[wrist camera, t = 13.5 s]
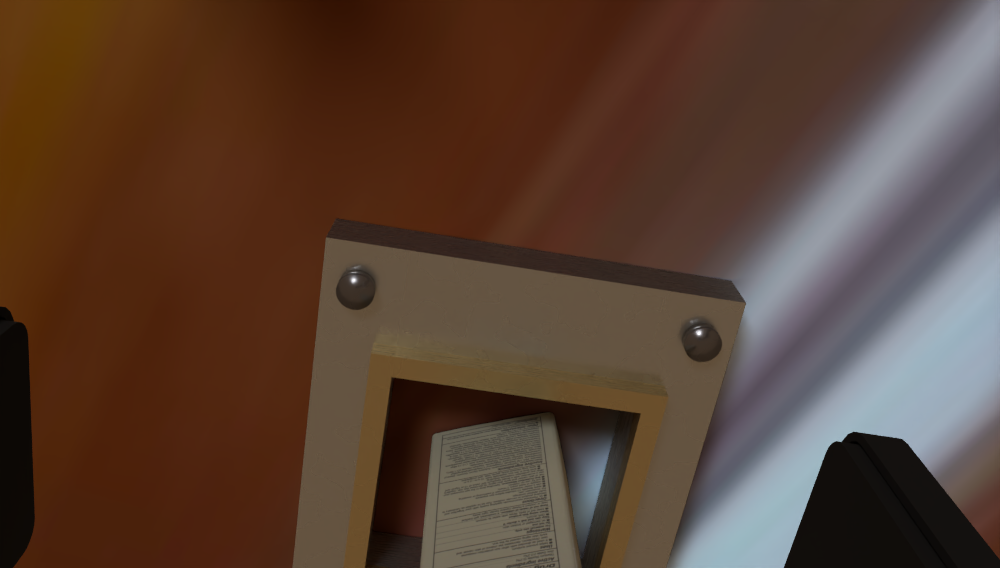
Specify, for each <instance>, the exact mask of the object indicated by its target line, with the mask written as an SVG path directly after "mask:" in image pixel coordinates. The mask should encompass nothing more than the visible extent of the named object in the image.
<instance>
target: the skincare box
mask: <svg viewBox="0 0 1000 568" xmlns="http://www.w3.org/2000/svg"><path fill="white" fill-rule="evenodd" d="M420 568H582V567H581V561H580V555H579V549H578V543H577V537H576V530H575V524H574V518H573V511H572V505H571V498H570V492H569V486H568V480H567V475H566V469H565V464H564V459H563V454H562V449H561V444H560V439H559V434H558V429H557V425H556V421H555V416H554V415H553V413H551V412H546V413H541V414H535V415H528V416H523V417H517V418H512V419H506V420H501V421H496V422H491V423H485V424H479V425H474V426H469V427H463V428H459V429H454V430H450V431H445V432H441V433H436V434H434V435H433V437H432V444H431V455H430V466H429V478H428V488H427V498H426V508H425V519H424V530H423V541H422V552H421V562H420Z"/></svg>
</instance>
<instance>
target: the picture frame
mask: <svg viewBox="0 0 1000 568" xmlns="http://www.w3.org/2000/svg"><path fill="white" fill-rule="evenodd" d="M745 305H746V302H745V301H744V299H743V298H742V296H741V295H740V293H739V292H738V290H737V289H736V287H735V286H734V284H733V283H732V281H728V280H722V279H716V278H709V277H703V276H697V275H690V274H684V273H678V272H671V271H665V270H659V269H652V268H646V267H640V266H633V265H627V264H621V263H614V262H608V261H602V260H595V259H589V258H583V257H576V256H570V255H564V254H557V253H551V252H545V251H538V250H532V249H526V248H519V247H513V246H507V245H500V244H494V243H488V242H481V241H475V240H469V239H462V238H456V237H450V236H443V235H437V234H431V233H424V232H418V231H412V230H405V229H399V228H393V227H387V226H380V225H374V224H368V223H361V222H355V221H349V220H342V219H336V220H335V221H334V223H333V225H332V227H331V229H330V231H329V233H328V235H327V237H326V244H325V254H324V264H323V273H322V283H321V293H320V303H319V313H318V323H317V333H316V342H315V352H314V362H313V372H312V382H311V392H310V402H309V412H308V421H307V431H306V441H305V451H304V461H303V471H302V481H301V490H300V500H299V510H298V520H297V530H296V540H295V550H294V559H293V568H420V562H421V552H422V541H423V538H418V537H411V536H403V535H396V534H388V533H381V532H373V524H374V517H375V510H376V503H377V496H378V489H379V482H380V475H381V468H382V460H383V453H384V446H385V439H386V432H387V425H388V418H389V411H390V404H391V397H392V390H393V383H394V378H401V379H408V380H414V381H421V382H428V383H435V384H442V385H449V386H456V387H463V388H469V389H476V390H483V391H490V392H497V393H504V394H511V395H517V396H524V397H531V398H538V399H545V400H552V401H559V402H565V403H572V404H579V405H586V406H593V407H600V408H607V409H614V410H620V414H619V418H618V422H617V426H616V430H615V433H614V437H613V441H612V445H611V449H610V453H609V457H608V461H607V465H606V469H605V472H604V476H603V480H602V484H601V488H600V492H599V496H598V500H597V504H596V508H595V511H594V515H593V519H592V523H591V527H590V531H589V535H588V539H587V543H586V547H585V551H584V554H583V558H582V559H580V561H581V567H582V568H666V566H667V563H668V560H669V556H670V553H671V550H672V546H673V543H674V540H675V537H676V533H677V530H678V527H679V523H680V520H681V517H682V513H683V510H684V507H685V504H686V500H687V497H688V494H689V490H690V487H691V484H692V480H693V477H694V474H695V470H696V467H697V464H698V461H699V457H700V454H701V451H702V447H703V444H704V441H705V437H706V434H707V431H708V427H709V424H710V421H711V418H712V414H713V411H714V408H715V404H716V401H717V398H718V394H719V391H720V388H721V384H722V381H723V378H724V375H725V371H726V368H727V365H728V361H729V358H730V355H731V351H732V348H733V345H734V341H735V338H736V335H737V332H738V328H739V325H740V322H741V318H742V315H743V312H744V308H745Z"/></svg>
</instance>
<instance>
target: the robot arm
mask: <svg viewBox="0 0 1000 568" xmlns="http://www.w3.org/2000/svg"><path fill="white" fill-rule="evenodd" d="M34 519H35V514H34V486H33V459H32V432H31V404H30V377H29V350H28V334H27V330H26V327H25V325H24V324H22V323H20V322H14V320H13V317H12V315H11V312H10V311H9V310H8V309H7V308H6V307H0V568H13V567H14V566H15V564H16V563H17V562H18V560H19V559H20V557H21V556H22V555H23V553H24V552H25V550H26V548H27V546H28V544H29V542H30V539H31V536H32V533H33V528H34ZM784 568H1000V560H999V558H998V557H997V556H996V555H995V553H994V552H993V551H992V549H991V548H990V547H989V546H988V544H987V543H986V542H985V541H984V539H983V538H982V537H981V536H980V534H979V533H978V532H977V531H976V529H975V528H974V527H973V526H972V524H971V523H970V522H969V521H968V519H967V518H966V517H965V516H964V514H963V513H962V512H961V511H960V509H959V508H958V507H957V506H956V504H955V503H954V502H953V500H952V499H951V498H950V497H949V495H948V494H947V493H946V492H945V490H944V489H943V488H942V487H941V485H940V484H939V483H938V482H937V480H936V479H935V478H934V477H933V475H932V474H931V473H930V472H929V470H928V469H927V468H926V467H925V465H924V464H923V463H922V462H921V460H920V459H919V458H918V457H917V455H916V454H915V453H914V452H913V450H912V449H911V448H910V446H909V445H908V444H907V443H906V442H905V441H903V440H902V439H898V438H892V437H885V436H878V435H871V434H865V433H858V432H852V433H850V434H848V435H847V436H846V437H845V438H844V440H843V441H842V442H837V441H836V442H834V443H832V444H831V445H830V446H829V448H828V450H827V452H826V454H825V457H824V460H823V462H822V465H821V468H820V471H819V473H818V476H817V479H816V481H815V484H814V487H813V490H812V492H811V495H810V498H809V501H808V503H807V506H806V509H805V512H804V514H803V517H802V520H801V522H800V525H799V528H798V531H797V533H796V536H795V539H794V542H793V544H792V547H791V550H790V553H789V555H788V558H787V561H786V563H785V566H784Z"/></svg>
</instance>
